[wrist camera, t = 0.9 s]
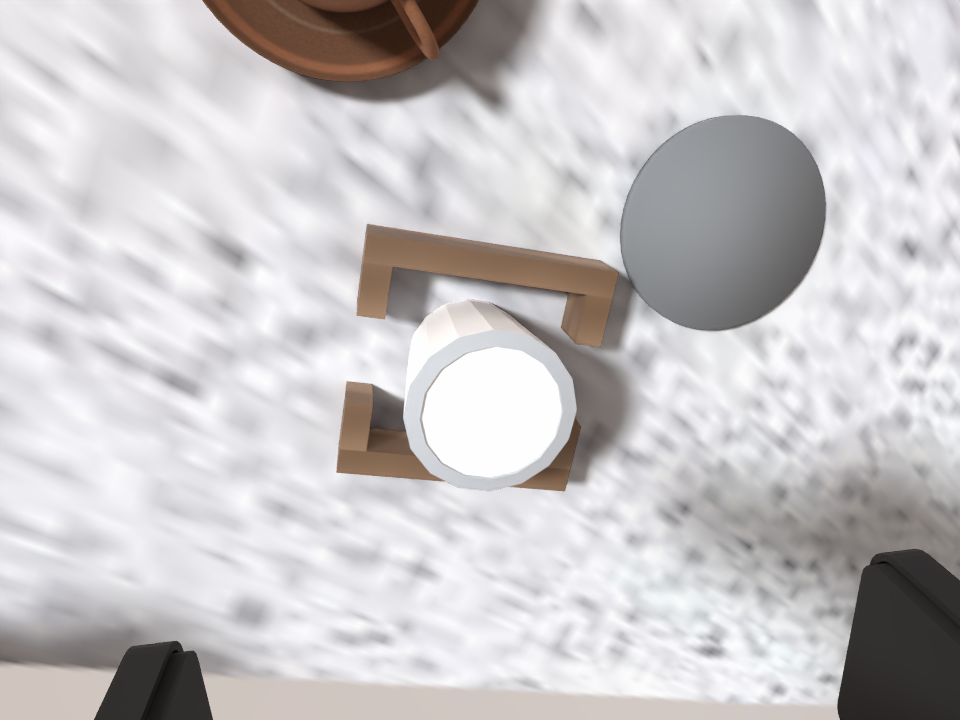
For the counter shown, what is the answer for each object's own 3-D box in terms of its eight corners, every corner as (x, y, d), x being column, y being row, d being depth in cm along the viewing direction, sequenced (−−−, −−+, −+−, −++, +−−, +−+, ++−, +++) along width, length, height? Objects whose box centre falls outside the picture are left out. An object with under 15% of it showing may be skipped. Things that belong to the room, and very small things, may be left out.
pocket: (551, 466, 36) (564, 491, 34) (338, 447, 34) (336, 472, 31) (600, 260, 33) (618, 272, 30) (367, 223, 30) (367, 233, 28)
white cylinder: (468, 255, 32) (495, 293, 25) (565, 351, 34) (612, 409, 27) (365, 359, 32) (365, 421, 26) (466, 446, 35) (489, 523, 28)
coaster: (780, 337, 36) (786, 341, 35) (598, 312, 33) (602, 315, 33) (846, 137, 32) (854, 137, 32) (650, 95, 30) (656, 95, 30)
